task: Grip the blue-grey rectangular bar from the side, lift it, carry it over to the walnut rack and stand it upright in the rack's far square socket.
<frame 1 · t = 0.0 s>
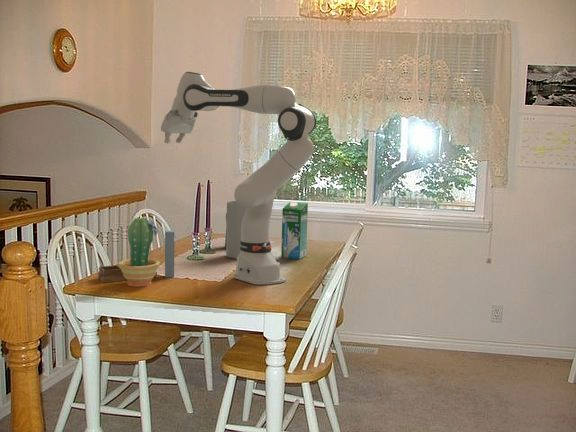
hand: (172, 142, 272), 52 cm above the table, tool tilted 20°, fingers open, 8 cm apart
blue-grey rectangular bar: (169, 276, 262), on the table
potted cactus: (139, 284, 249), on the table
milk carton: (293, 257, 308), on the table
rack: (127, 277, 258), on the table
coffee jar: (234, 247, 328), on the table
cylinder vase: (239, 256, 305), on the table
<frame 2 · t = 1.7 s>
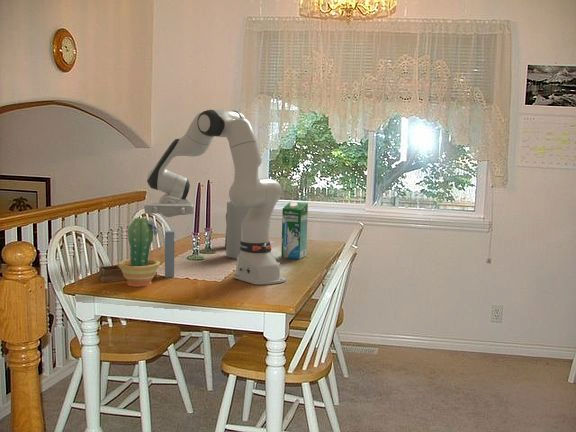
hand: (169, 211, 270), 24 cm above the table, tool horizontal, fingers open, 8 cm apart
nothing on the table moved.
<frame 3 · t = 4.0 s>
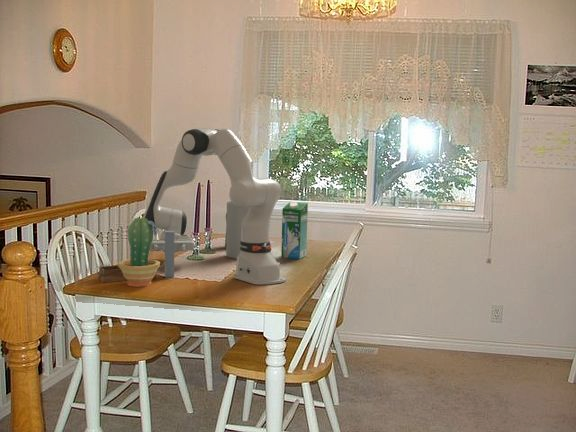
hand: (169, 248, 269), 9 cm above the table, tool horizontal, fingers open, 8 cm apart
nothing on the table moved.
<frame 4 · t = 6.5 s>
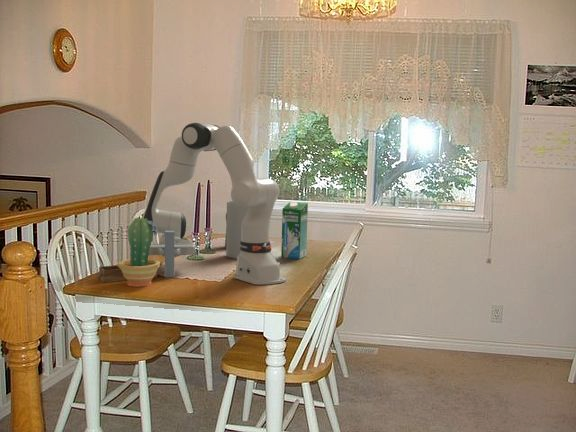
hand: (169, 253, 260), 10 cm above the table, tool horizontal, fingers closed on blue-grey rectangular bar, 4 cm apart
blue-grey rectangular bar: (169, 276, 262), on the table, touching gripper
everything else where it was.
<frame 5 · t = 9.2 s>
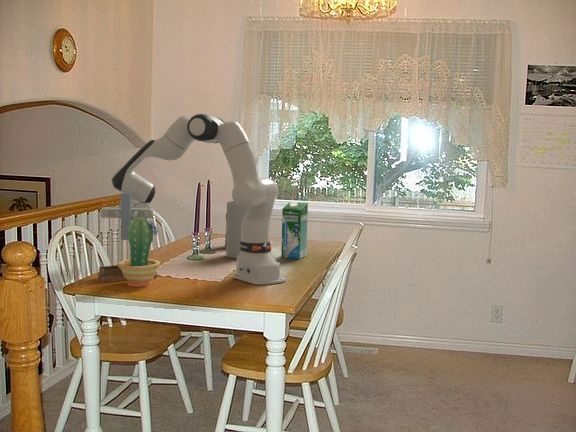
hand: (125, 215, 256), 24 cm above the table, tool horizontal, fingers closed on blue-grey rectangular bar, 4 cm apart
blue-grey rectangular bar: (126, 239, 258), point 15 cm above the table, touching gripper
everything else where it was.
when the fingers open (13 cm above the table, at t = 12.0 s): blue-grey rectangular bar drops 2 cm, resting on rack.
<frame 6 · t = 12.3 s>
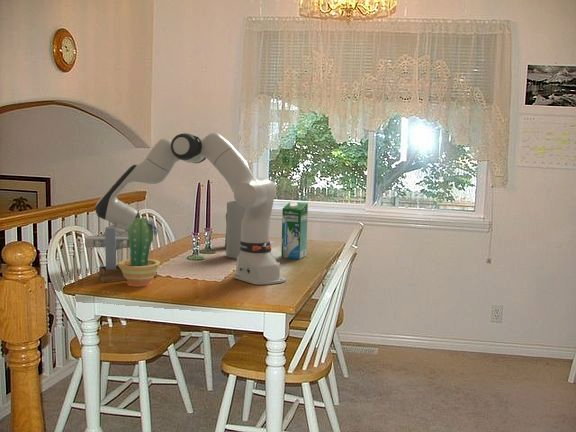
hand: (110, 245, 252), 13 cm above the table, tool horizontal, fingers open, 7 cm apart
blue-grey rectangular bar: (111, 274, 254), point 2 cm above the table, touching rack
everything else where it was.
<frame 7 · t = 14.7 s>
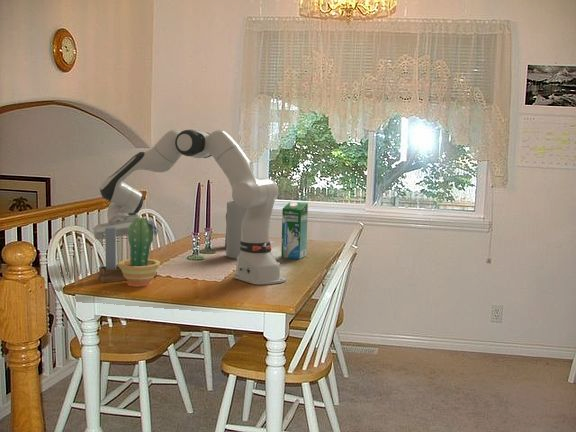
hand: (120, 237, 265), 14 cm above the table, tool tilted 75°, fingers open, 8 cm apart
nothing on the table moved.
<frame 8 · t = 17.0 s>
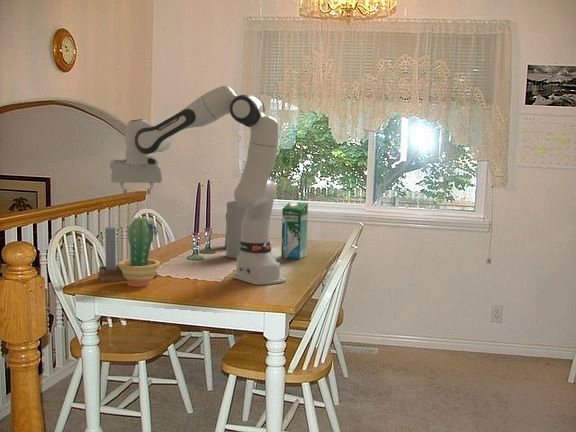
hand: (137, 193, 270), 31 cm above the table, tool pointing down, fingers open, 8 cm apart
nothing on the table moved.
at the end: blue-grey rectangular bar 0.1 cm from the target spot, point 2.0 cm above the table; blue-grey rectangular bar tilted 0°; the gripper is holding nothing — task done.
